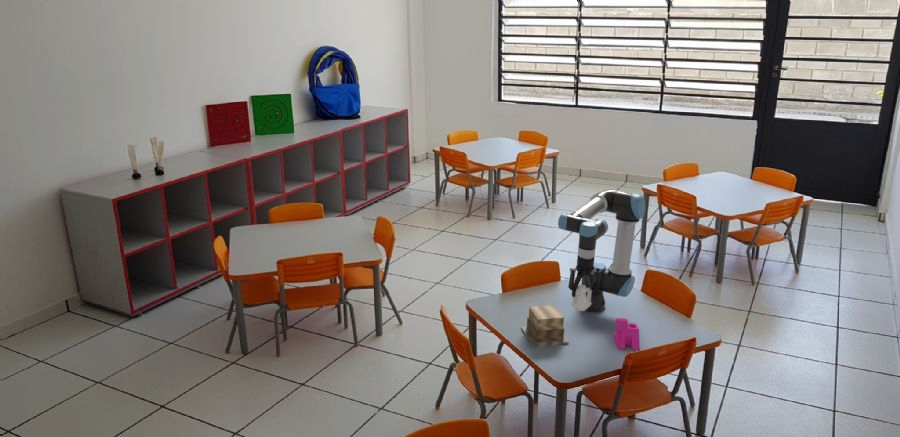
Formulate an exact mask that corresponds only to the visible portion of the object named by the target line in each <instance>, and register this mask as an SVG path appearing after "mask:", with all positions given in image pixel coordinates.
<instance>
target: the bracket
mask: <svg viewBox="0 0 900 437" xmlns="http://www.w3.org/2000/svg"><path fill="white" fill-rule="evenodd" d="M614 325H615V327H616V330H617V331H614V332H613V334H614V335H613V338H614V341H615V345H616V348H617V350H626V346H630V348H631V350H632V351H641V350H640V349H641V346H640V344H641V343H640V342H641V341H640V328H639V325H638V324H637V323H631V322H630V323H629V321H628V319H627V318H625V317H623V318H621V317H619V318H618V317H616V318H615V323H614Z"/></svg>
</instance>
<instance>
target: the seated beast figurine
mask: <svg viewBox="0 0 900 437" xmlns="http://www.w3.org/2000/svg"><path fill="white" fill-rule="evenodd" d="M576 291H578V294H577V303H576V304H574V302H573V299H572V300H570V305H571V306H572V307H573V308H574V309H575V310H577V311H579V312H585V311H586V309H587V308H589V307H590V305H591V303H589V302H588V301H587V296H586V294H585V293H586V292H587V291H588V288H586V286H585V285H581V284H579V285H578V287H577V290H576Z"/></svg>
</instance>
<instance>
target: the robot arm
mask: <svg viewBox="0 0 900 437" xmlns="http://www.w3.org/2000/svg"><path fill="white" fill-rule="evenodd" d="M604 212H607V213H612V214H615V220H616V221H617V228H616V235H615V236H616V237H615V242H614V252H613V259H612V265H611V266H610V267H608V268H607V266H606V264H604V263H601V262H595V256H596V248H597V240H598V239H600V238H601V237H603V236H604V235H605V234H606V233H607V232H608V230H609V226H608V223H607V221H606V220H605V219H603V218H597V219H593V218H594V217H595V216H597V215H598V214H601V213H604ZM645 212H646V201H645V198H644V196H643V195H642V194H637V193H635V192H628V191H623V190H618V189H605V190H601V191H599V192H597V193H595V194H593V195H591V197H590V198H589V200H588V201H587V202H586V203H584V204H582V205H581V206H580V207H578V208H577V209H575V210H574V211H573V212H571V213H570V214H568V213H561V214H560V215H559V218H558V221H557V226H558V228H559V229H561V230H563V231H565V232H571V233H575V234H578V235H579V237H578V247H577V258H576V266H575V268H572V267H571V268H569V281H568V286H567V288H569V290H570V291H571V297H572V300H573V302H574V304H576V303H577V295H578V291H576V290H577V287H578V286H579V285H585V286H586V288H588V291H587V292H586V293H585V294H586V296H587V301H588V302H589V303H591V305H590V307H589V308H587V309H586V310H585V311H587V312H600V311H603V310H604V309H605V308H606V300H605V296H604V293H607V294H611V295H615V296H616V297H622V298H626V297H628V296H629V295H630V293H631V292H632V290H633V288H634V285H635V282H636V278H635V276H634V275H632V274H633V272H632V271H633V270H632V269H631V268H630V267H631V266H630V265H631V259H632V251H633V245H634V237H635V231H636V224H638V223H639V222H640V220H642V219H643V217H644V216H645ZM580 282H581V283H580Z"/></svg>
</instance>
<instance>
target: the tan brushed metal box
mask: <svg viewBox="0 0 900 437" xmlns="http://www.w3.org/2000/svg"><path fill="white" fill-rule="evenodd" d="M528 307H529V309H528V317H527V319H526V326H521V330H522V332H523V334H524V335H525V337H526V338H527V340H528V342H529V344H530V345H531V347H532V348H536V347H538V348H539V347H546V346H547V347H549V346H550V347H551V346H559V345H561V346H562V345H569V344H570V342H569V340H568V339H567V337H566V336H565V327H564V324H565V323H564V320H565V316H563V314H562V313H561V312H560V310H559V309H558V307H557V306H556V305H555V304H553V305H552V304H550V305H541V306H540V305H539V306H538V305H536V306H528Z"/></svg>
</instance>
